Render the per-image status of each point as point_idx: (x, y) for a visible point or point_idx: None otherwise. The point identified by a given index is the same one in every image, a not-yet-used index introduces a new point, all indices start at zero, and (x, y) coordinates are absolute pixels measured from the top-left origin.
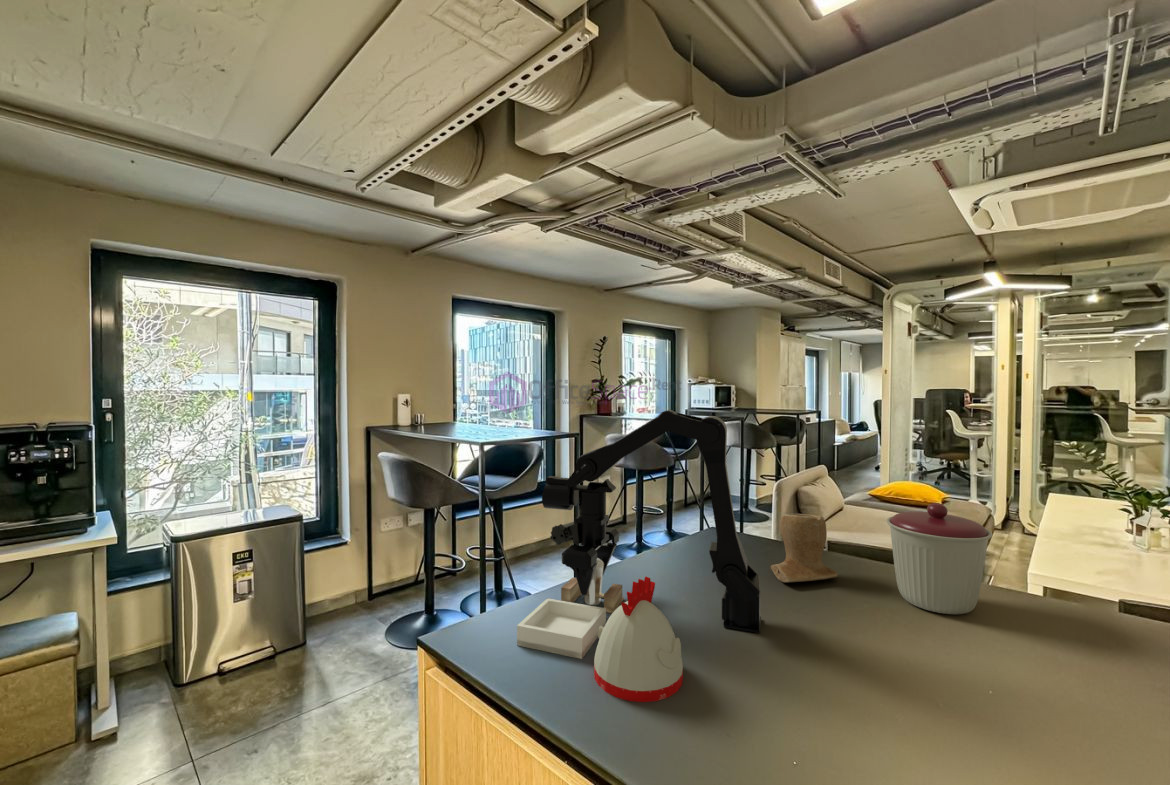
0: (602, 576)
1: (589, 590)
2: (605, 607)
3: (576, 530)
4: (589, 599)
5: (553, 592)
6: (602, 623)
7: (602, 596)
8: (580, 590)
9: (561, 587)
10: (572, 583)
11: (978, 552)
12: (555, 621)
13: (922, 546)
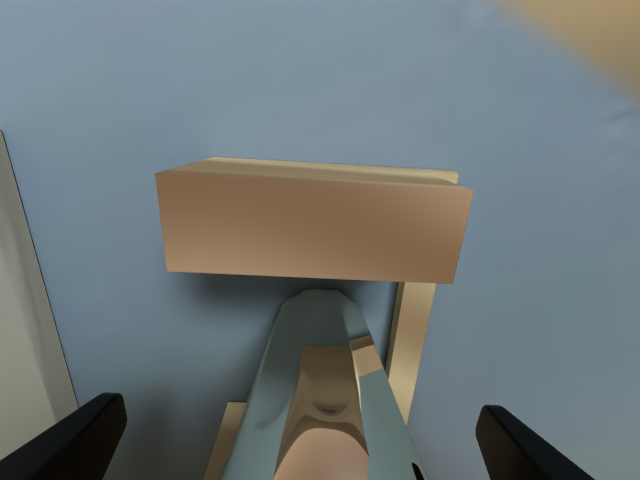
0: (487, 457)
1: (249, 396)
2: (220, 429)
3: None
4: (266, 345)
5: (403, 3)
6: None
7: (388, 365)
8: (62, 420)
9: (155, 176)
10: (306, 248)
11: None
12: None
13: None
